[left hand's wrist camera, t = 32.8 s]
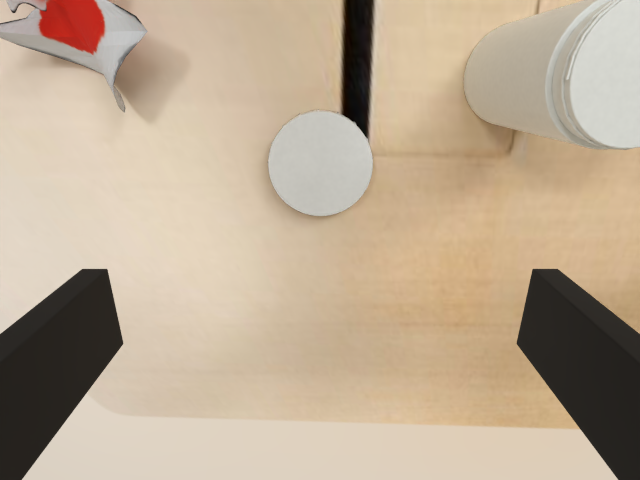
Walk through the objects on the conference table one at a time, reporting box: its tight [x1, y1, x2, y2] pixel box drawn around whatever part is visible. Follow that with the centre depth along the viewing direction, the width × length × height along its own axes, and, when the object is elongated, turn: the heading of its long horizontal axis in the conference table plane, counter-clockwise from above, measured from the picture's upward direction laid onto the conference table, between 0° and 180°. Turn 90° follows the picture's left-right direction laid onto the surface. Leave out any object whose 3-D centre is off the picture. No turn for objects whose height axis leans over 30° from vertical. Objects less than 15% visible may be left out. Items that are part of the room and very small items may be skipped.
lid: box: [268, 109, 373, 216], centre depth 36 cm, size 9×9×2 cm
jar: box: [464, 0, 640, 150], centre depth 27 cm, size 8×8×15 cm
